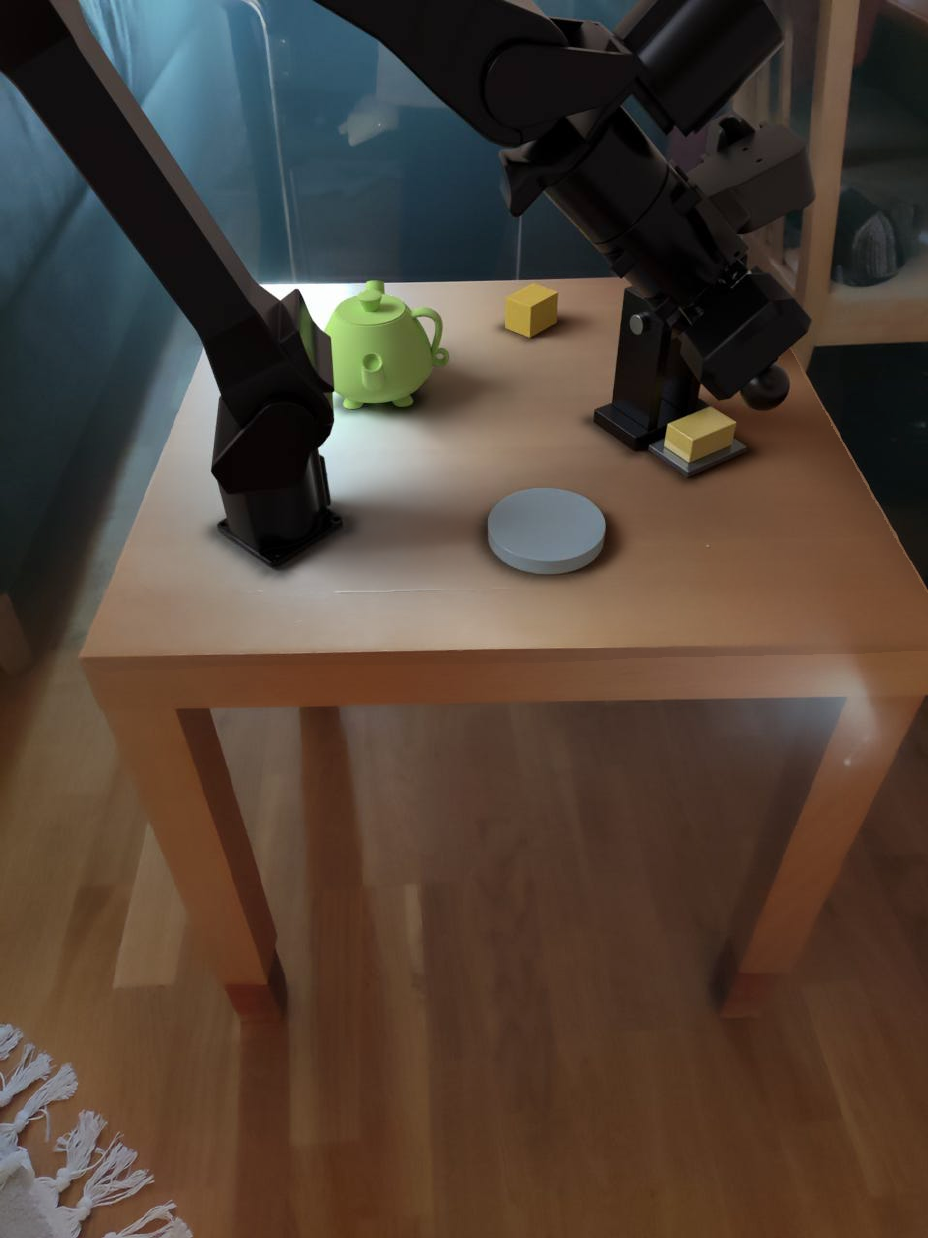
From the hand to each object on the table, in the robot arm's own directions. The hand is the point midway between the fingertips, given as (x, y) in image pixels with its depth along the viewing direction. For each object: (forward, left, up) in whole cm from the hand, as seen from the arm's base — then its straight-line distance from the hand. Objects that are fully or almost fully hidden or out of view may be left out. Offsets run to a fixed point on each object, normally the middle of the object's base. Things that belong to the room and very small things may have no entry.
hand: (770, 361), depth 59 cm
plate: (-14, +7, -10) cm, 19 cm away
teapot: (-9, +30, -10) cm, 33 cm away
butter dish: (+1, +5, -10) cm, 11 cm away
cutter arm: (+1, +5, -3) cm, 6 cm away
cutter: (+3, +10, -10) cm, 14 cm away
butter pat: (+9, +27, -10) cm, 30 cm away
